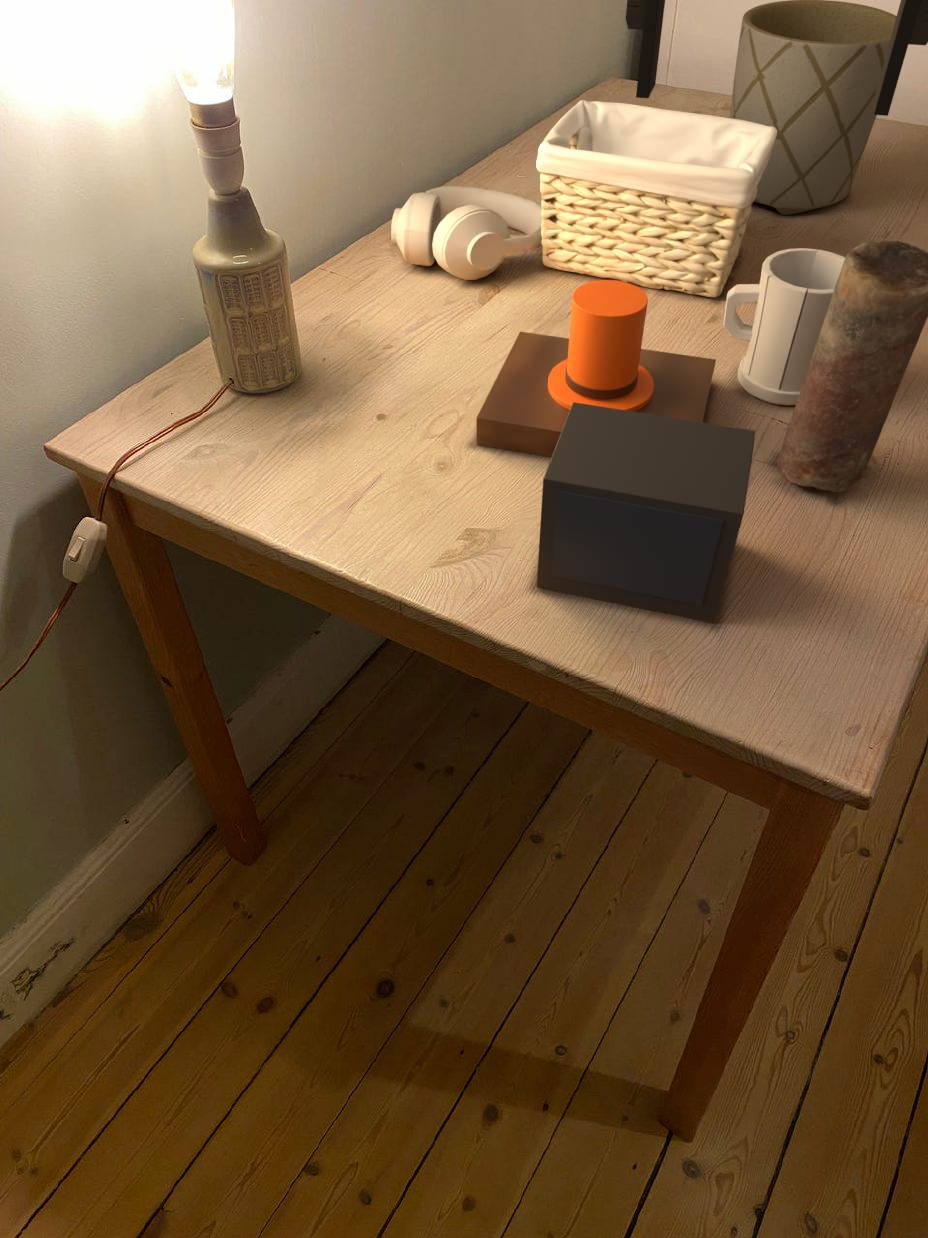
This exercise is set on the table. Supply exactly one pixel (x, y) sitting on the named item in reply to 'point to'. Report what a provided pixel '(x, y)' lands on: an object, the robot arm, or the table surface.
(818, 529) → the table surface
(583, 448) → the television
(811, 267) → the cup
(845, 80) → the planter
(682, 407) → the brown wooden board
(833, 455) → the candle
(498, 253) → the headphones
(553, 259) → the basket
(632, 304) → the hat
